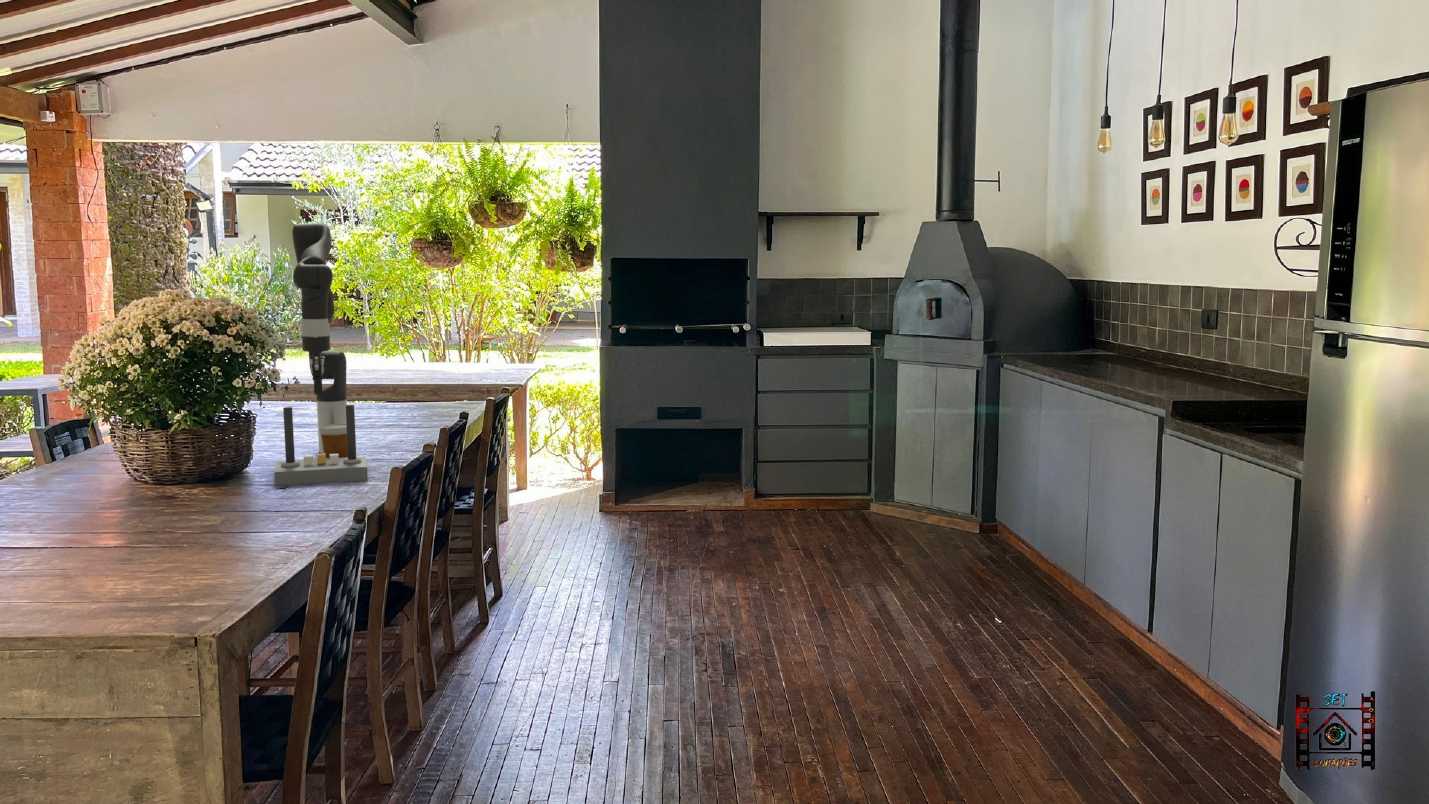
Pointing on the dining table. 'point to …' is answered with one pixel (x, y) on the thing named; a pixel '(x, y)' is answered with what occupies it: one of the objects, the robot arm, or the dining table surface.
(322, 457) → the orange small block
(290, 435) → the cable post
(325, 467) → the panel
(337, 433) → the disposable coffee cup
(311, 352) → the robot arm
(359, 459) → the cable post
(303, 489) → the dining table surface
